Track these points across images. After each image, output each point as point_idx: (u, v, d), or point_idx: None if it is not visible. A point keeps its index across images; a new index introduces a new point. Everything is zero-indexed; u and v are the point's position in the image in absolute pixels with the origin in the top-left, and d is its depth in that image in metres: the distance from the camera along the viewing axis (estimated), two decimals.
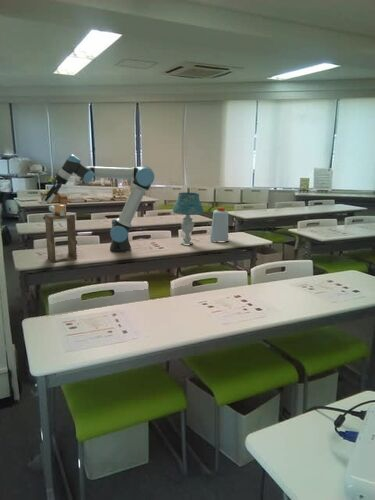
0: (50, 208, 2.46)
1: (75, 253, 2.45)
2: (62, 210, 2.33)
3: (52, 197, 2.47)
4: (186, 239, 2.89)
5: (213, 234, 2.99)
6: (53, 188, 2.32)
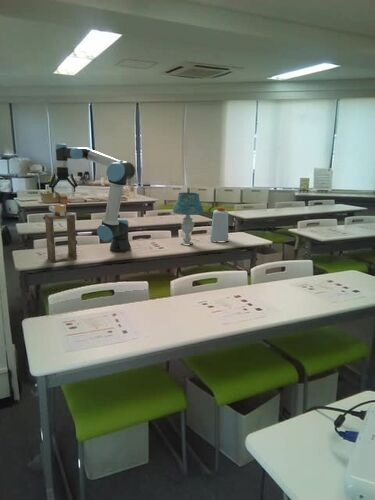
0: (50, 208, 2.46)
1: (75, 253, 2.45)
2: (62, 210, 2.33)
3: (72, 190, 2.66)
4: (186, 239, 2.89)
5: (213, 234, 2.99)
6: (52, 179, 2.55)
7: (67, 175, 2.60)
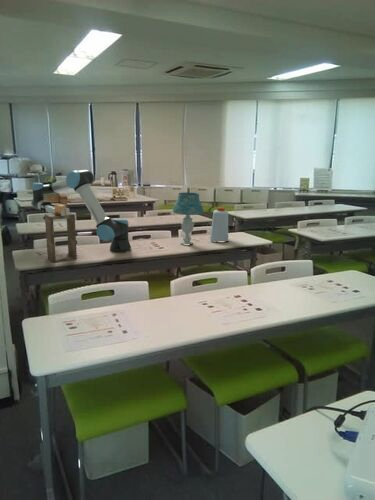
0: (48, 208, 2.45)
1: (75, 253, 2.45)
2: (63, 210, 2.33)
3: None
4: (186, 239, 2.89)
5: (213, 234, 2.99)
6: (40, 208, 2.57)
7: None
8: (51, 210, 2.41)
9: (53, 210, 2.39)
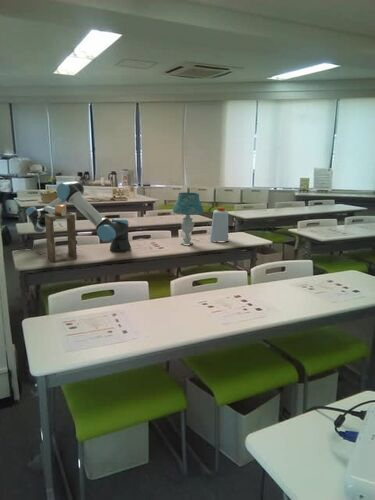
0: (46, 208, 2.44)
1: (75, 253, 2.45)
2: (63, 210, 2.33)
3: None
4: (186, 239, 2.89)
5: (213, 234, 2.99)
6: None
7: None
8: (50, 210, 2.41)
9: (53, 210, 2.39)
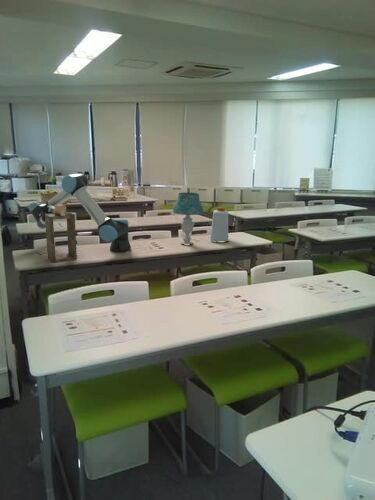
0: None
1: (75, 253, 2.45)
2: (63, 210, 2.33)
3: None
4: (186, 239, 2.89)
5: (213, 234, 2.99)
6: (41, 213, 2.49)
7: None
8: (52, 210, 2.42)
9: (54, 210, 2.39)
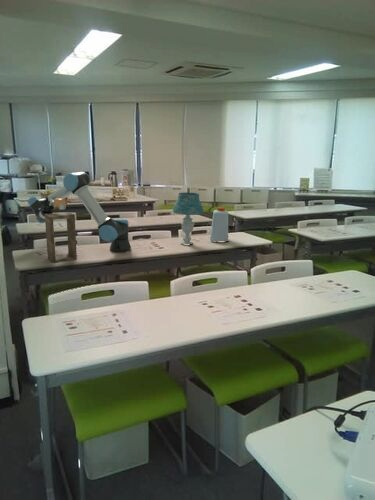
0: None
1: (75, 253, 2.45)
2: (62, 204, 2.31)
3: None
4: (186, 239, 2.89)
5: (213, 234, 2.99)
6: (41, 207, 2.48)
7: None
8: (52, 204, 2.41)
9: (53, 204, 2.39)
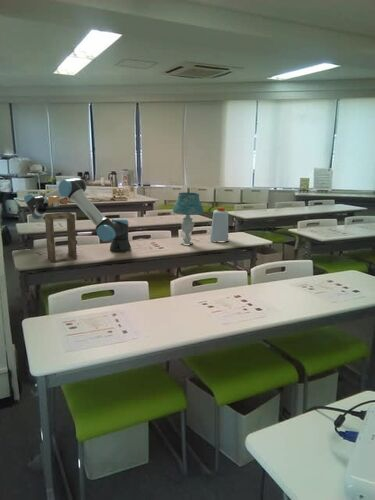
0: None
1: (75, 253, 2.45)
2: (56, 201, 2.39)
3: None
4: (186, 239, 2.89)
5: (213, 234, 2.99)
6: (36, 204, 2.56)
7: None
8: (46, 201, 2.49)
9: (48, 201, 2.47)
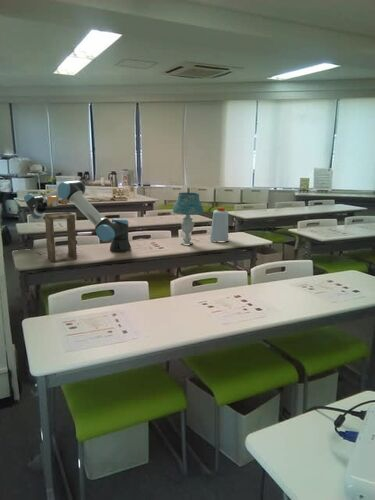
0: None
1: (75, 253, 2.45)
2: (54, 201, 2.42)
3: None
4: (186, 239, 2.89)
5: (213, 234, 2.99)
6: (35, 204, 2.59)
7: None
8: (46, 201, 2.52)
9: (47, 201, 2.49)
